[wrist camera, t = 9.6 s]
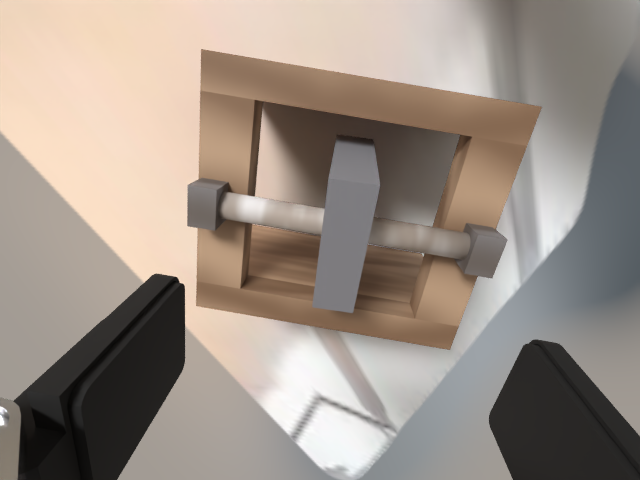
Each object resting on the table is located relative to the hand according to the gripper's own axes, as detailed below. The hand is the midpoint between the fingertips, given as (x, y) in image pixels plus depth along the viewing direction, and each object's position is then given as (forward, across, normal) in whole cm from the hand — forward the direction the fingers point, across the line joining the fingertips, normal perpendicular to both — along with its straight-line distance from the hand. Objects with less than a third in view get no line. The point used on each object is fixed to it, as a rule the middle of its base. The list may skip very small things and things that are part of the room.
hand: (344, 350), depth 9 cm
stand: (+24, 0, +1) cm, 24 cm away
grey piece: (+16, 0, 0) cm, 17 cm away
